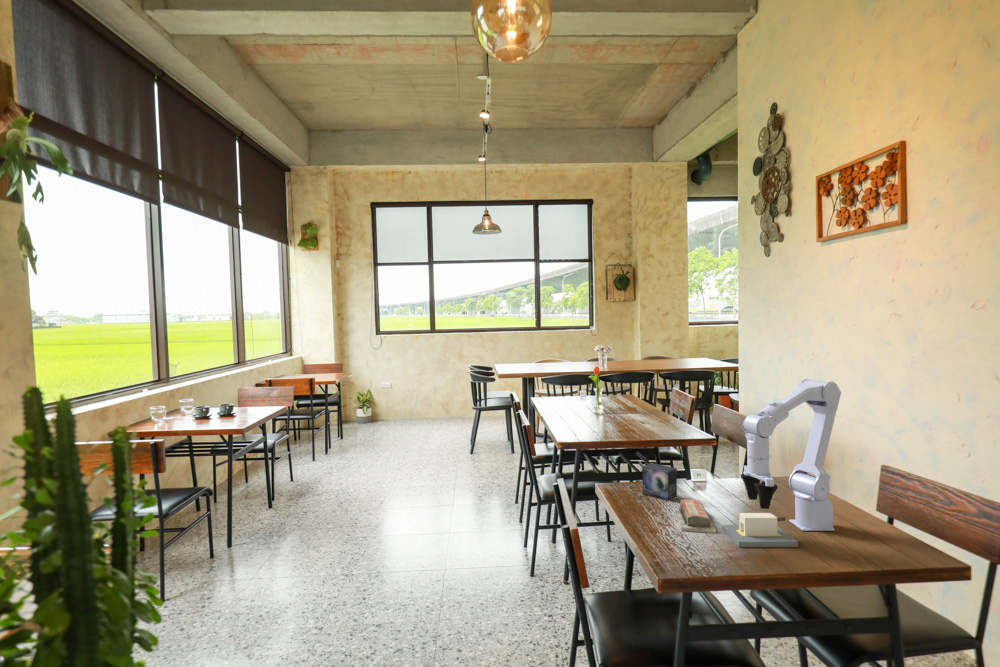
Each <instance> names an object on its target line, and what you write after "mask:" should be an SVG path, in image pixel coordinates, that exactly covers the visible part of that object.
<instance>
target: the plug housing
mask: <svg viewBox="0 0 1000 667" xmlns="http://www.w3.org/2000/svg"><path fill="white" fill-rule="evenodd" d="M738 516H739V517H738V518H739V522H738V525H739V530H740V531H744V535H777V526H778V522H786V517H785V516H784V517H782V516H781V517H779V516H776V515H774V514H773V513H772V512H740V513H739V515H738Z"/></svg>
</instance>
